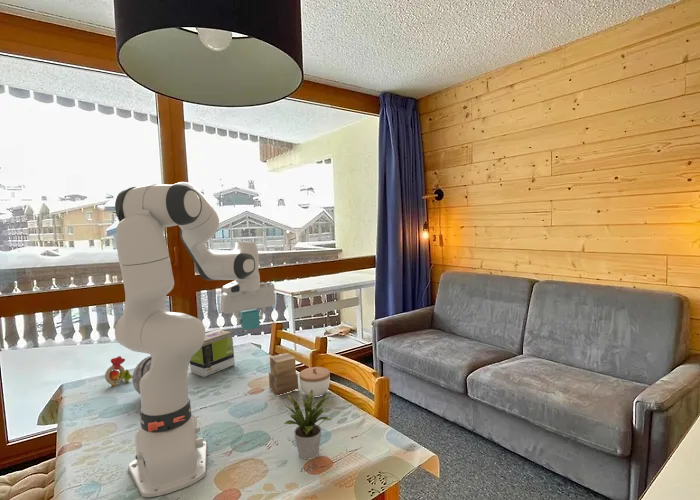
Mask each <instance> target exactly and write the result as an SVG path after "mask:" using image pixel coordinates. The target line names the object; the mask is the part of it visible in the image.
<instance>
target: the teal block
mask: <svg viewBox="0 0 700 500" xmlns="http://www.w3.org/2000/svg"><path fill="white" fill-rule="evenodd" d="M259 313H260V311H259V309H258V308H257V309H251V310H245V311H240V312H239V315H240V318H242V323H240V326H241V328H242V331H244V330H252V329H253V330H254V329H259V328H260V327H261V325H260V320H259Z"/></svg>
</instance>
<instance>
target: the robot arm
mask: <svg viewBox="0 0 700 500" xmlns="http://www.w3.org/2000/svg"><path fill="white" fill-rule="evenodd" d="M114 202H115V203H114V210H115V214H116V217H117V220H118V224H117V226H116V250H117V257H118V262H119V266H120V267H119V268H120V272H121V273H120V274H121V277H122V282H123V283H122V284H123V287H124V296H125V301H124V310H123V313H122V316H120V318H119V319H117V320H118V321H117V323H116V324H115V328H114V337H115V339H116V341H117V342H118V344H119V345H121V346H122V347H124V348H127V349H128V350H131V351H132V352H136V353H143V354H148V355H149V356H151V359H152V360H151V367H150V370H149V371H148V372H147V373H145V374H144V375H143V377H142V378H141V380H140V394H139V396H140V397H139V398H140V406H141V408H140V410H139V421H140V427H139V429H138V430H137V431H136V432H135V434H134V436H135V437H134V440H135V441H134V442H135V453H136V454H135V459H133V460H132V461H131V462H129V463H128V467H127V469H128V471H129V474H130V476H131V478H132V480H133V482H134V484H135V486H136V488H137V489H138V490H137V491H138V492H139V493H140V495H141V497H143V498H153V497H158V496H163V495H168V494H171V493H173V492H176V491H180V490H182V489H184V488H186V487H189V486H191V485H193V484H195V483H197V482H199V481H200V480H202V479H203V478H205V477H206V476H207V458H208V457H207V456H208V444H207V441H206V440H203V437H199V433H201V427H200V426H198V420H197V417H195V415H193V414H192V405H191V399H189V393H188V391H189V390H188V371H189V367H190V360H191V358H192V357H193V355H194V354H195V353H197V352H198V351H199V350H200V348H201V347H202V345H203V343H204V340H205V333H206V328H205V325H204V322H203V321H202V320H201V319H199V318H197V317H196V316H193V315H190V314H188V313H184V312H178V311H177V312H175V311H167V309H166V299H167V295H168V294H170V292H172V290H173V289H174V286H175V279H174V275H173V274H174V273H173V269H172V263H171V262H172V261H171V257H170V252H169V247H168V245H167V244H168V243H167V241H166V238H165V235H164V232H165V228H171V227H175V226H178V227H179V228H180V231H179V236H180V240H181V242H182V245H183V246H184V247H185V250H186V251H187V252H188V253H189V256H190V257H191V259H192V260H193V262H194V264H195V267H196V269H197V271H198V274H199V276H200V277H201V278H202V279H203V280H204V281H209V282H210V281H221V280H222V281H230V280H231V282H229V283H226V284H225V285H223V286H222V291H223V292H222V293H221V296H220V311H221V312H222V313H224V314H225V315H226V314H232V313H233V315H234V318H236V322H237V324H239V325H241V323H242V318H241V317H239V315H240V311H245V310H251V309H257V310H258V309H259V310H260V311H259V321H260V320H263V319H264V318H263V317H264V316H263V315H264V314H265V311H266V308H268V307H269V308H270V307H274V306H275V305H276V303H277V301H276V295H275V289H276V288H275V284H274V283H272V282H271V281H267V282H261V276H260V271H259V267H260V259H259V251H258V246H257V243H255V242H254V241H246V240H240V241H237V242H235V243H234V248H233V250H231V251H229V252H223V251H222V252H217V251H216V252H215V251H212V250H209V249H208V247H207V246H206V244H205V242H207V241H209V240H210V239H211V238H213V237H214V236H215V235H216V234H217V232H218V229H219V226H220V218H219V215H218V214H217V211H216V210H215V208H214V206H212V204H211V203H210V202H209V200H208V199H207V198H206V197H205V195H204V194H203V193H202V192H201V191H200V190H199V189H197V188H196V186H194V185H193V184H192V183H189V182H186V181H179V182H177V183H174V184H158V183H157V184H156V183H153V184H146V185H142V186H131V187H128V188H125V189H123V190H121V191H120V192H119V193H118V194H117V196H116V199H115V201H114Z"/></svg>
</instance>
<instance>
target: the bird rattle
mask: <svg viewBox="0 0 700 500" xmlns="http://www.w3.org/2000/svg"><path fill="white" fill-rule="evenodd" d="M125 361H126V358H123V357H122V356H121V355H120V356H119V355H118V356H117V357H113V358H111V359H110V363H111V364H112V365H111V366H109V367H108V368H107V370H106V371H105V372H104V379H105V381H106V382H107V383H108V384H110V385H111V386H112V387H115V386H116V385H117V384H119V383H120V382H122V381H124V382H125V383H126V382H128V383H129V381H130V379H131V380H132V377H133V374H131V373H130V371H129V369H125V367H123V366H122V364H123V363H124V362H125Z"/></svg>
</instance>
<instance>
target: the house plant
mask: <svg viewBox="0 0 700 500" xmlns="http://www.w3.org/2000/svg"><path fill="white" fill-rule="evenodd" d="M300 394H301V396H302V401H303V404H302V405H301V407H304V413H305V414H303V412H302V410H301V408H300V405H299V403H298V401H297V400H296V399H295V398H293V396H292V395H290V394H289V393H288V394H286V395H287V396H288V398H289V399H290V401H291V402H290V403H292V405H293V407H294V409H293V408H292V407H290V406H288V405H285V407H286V408H288V409H289V410H290V411H291V412H292V413H293V414H290V417H291V419H289V420H286V421H285V422H284V423H283V425H297V427H296V428H295V429H294V433H293V434H294V438H295V444H296V448H297V452H298V456H299V457H300V458H301V457H302V458H301V459H303V458H305V459H304V460H310V459H309V458H312V459H314V458H313V457H315V456H316V455H317V454H318V455H319V452H320V443H321V438H322V437H321V436H322V427H321V426H320V425H321V424H322V423H323V422H325V421H327V420H328V421H330V422H331V420H332V419H331V418H329V417H327V416H321V415H322V414H323V413H324V412H327V411H328V410H327V409H324V408H326V406H327V404H333V402H332V401H326V400H328V399H329V397H328V396H330V395H331V394H332V392H329V393H328V394H326V395H323V396H322V398H321V399H319V400H317V401H315V402H314V398H313V391H312V389H311V392H310V394H309V396H307V400H306V398H305V395H304V394H303V393H300ZM325 401H326V402H325ZM315 404H316V405H315ZM313 406H315V407H313ZM304 416H305V417H304ZM320 420H322V421H321V422H319V421H320ZM317 422H319V424H316V423H317ZM318 455H317V456H318ZM317 456H316V457H317ZM316 457H315V458H316Z"/></svg>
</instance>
